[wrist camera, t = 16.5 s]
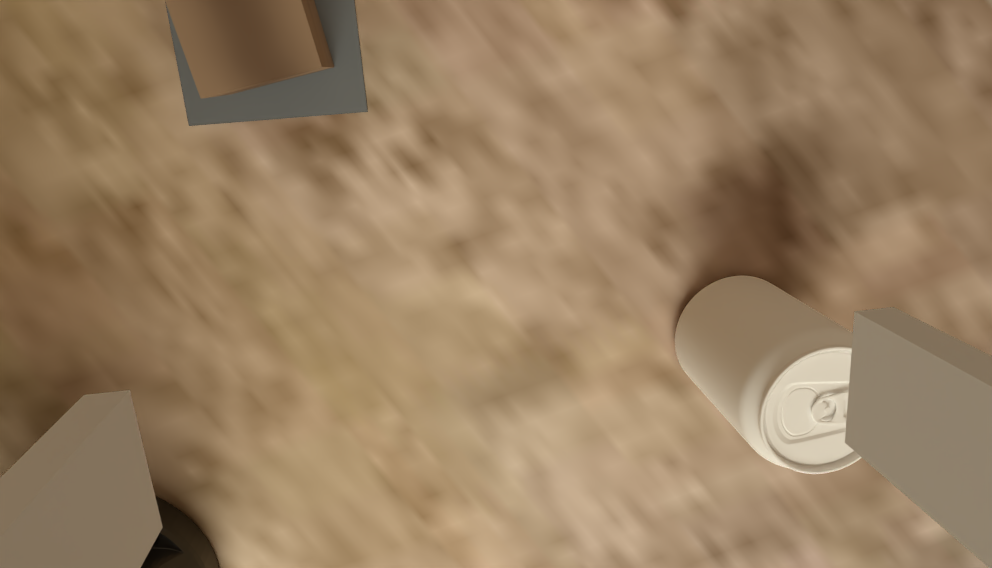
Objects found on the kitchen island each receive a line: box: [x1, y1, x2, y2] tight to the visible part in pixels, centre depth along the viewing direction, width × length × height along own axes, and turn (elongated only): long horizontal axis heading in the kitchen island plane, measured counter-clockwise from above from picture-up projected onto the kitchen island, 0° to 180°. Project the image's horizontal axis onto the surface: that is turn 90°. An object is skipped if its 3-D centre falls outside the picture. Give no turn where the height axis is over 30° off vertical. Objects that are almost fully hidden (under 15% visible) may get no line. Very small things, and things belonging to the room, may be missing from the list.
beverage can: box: [675, 276, 862, 474], centre depth 43 cm, size 8×8×12 cm
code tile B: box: [165, 0, 368, 126], centre depth 40 cm, size 10×10×1 cm
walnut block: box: [165, 0, 334, 99], centre depth 37 cm, size 6×6×6 cm
